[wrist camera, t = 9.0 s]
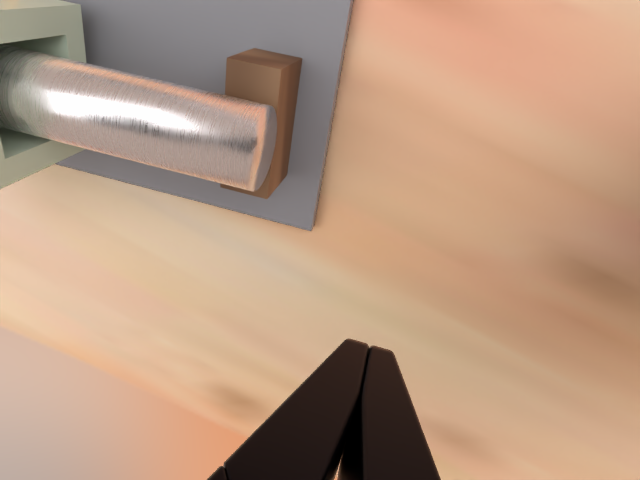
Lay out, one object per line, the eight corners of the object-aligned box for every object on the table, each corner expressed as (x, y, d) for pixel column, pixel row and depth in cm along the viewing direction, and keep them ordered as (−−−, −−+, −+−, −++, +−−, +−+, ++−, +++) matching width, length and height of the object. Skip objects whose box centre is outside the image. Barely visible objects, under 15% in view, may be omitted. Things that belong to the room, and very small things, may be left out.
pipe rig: (354, -7, 17) (314, -1, 12) (314, 225, 22) (273, 299, 17) (-123, -100, 20) (-327, -128, 14) (-60, 127, 25) (-194, 166, 20)
